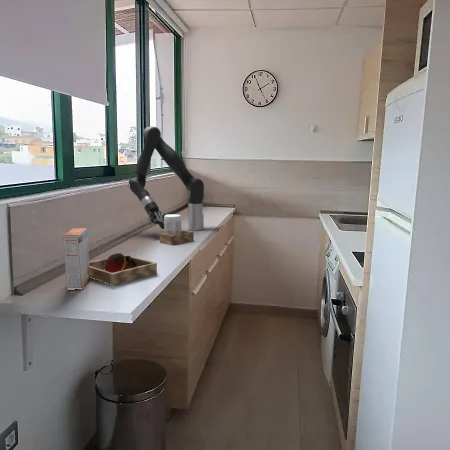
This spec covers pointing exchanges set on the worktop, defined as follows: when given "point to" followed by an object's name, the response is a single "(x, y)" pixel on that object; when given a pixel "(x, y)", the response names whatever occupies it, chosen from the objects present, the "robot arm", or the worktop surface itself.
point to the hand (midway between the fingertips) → (163, 228)
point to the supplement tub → (172, 224)
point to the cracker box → (76, 257)
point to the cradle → (177, 238)
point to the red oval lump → (119, 263)
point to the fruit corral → (138, 271)
